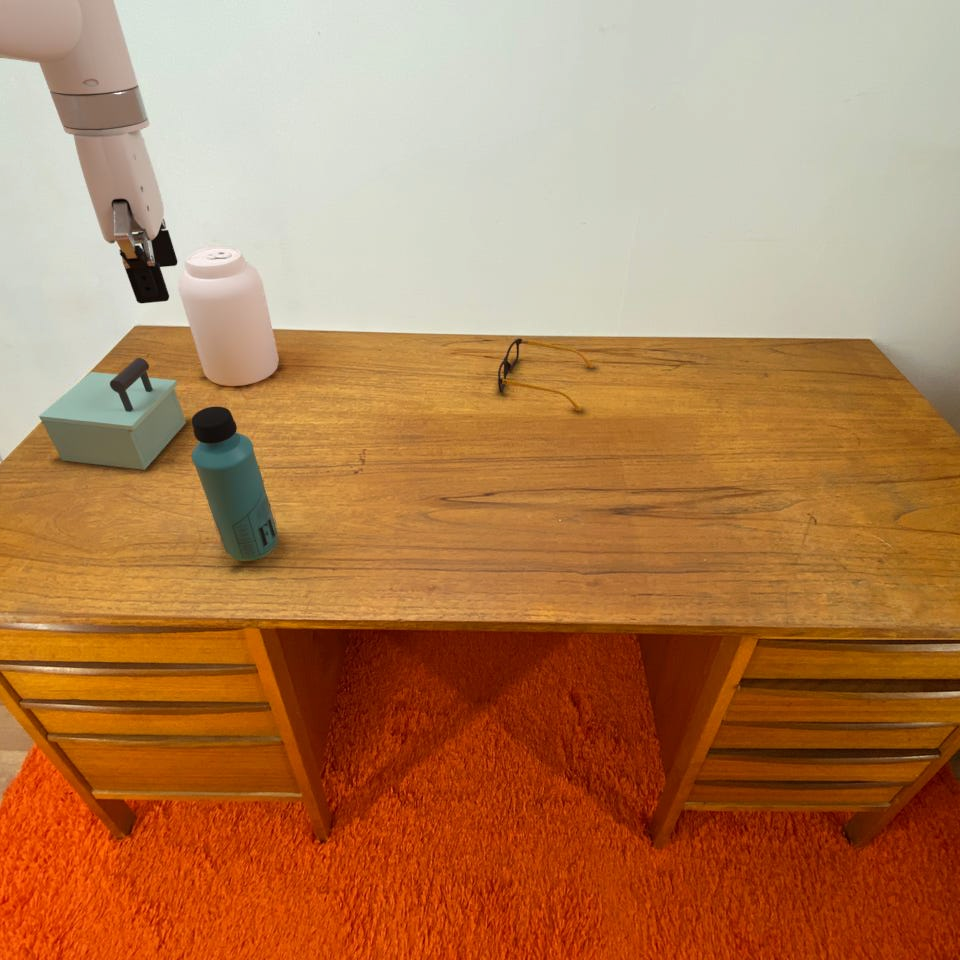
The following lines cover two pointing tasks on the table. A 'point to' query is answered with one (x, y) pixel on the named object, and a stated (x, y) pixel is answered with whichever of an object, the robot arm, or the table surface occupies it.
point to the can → (228, 316)
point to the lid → (111, 399)
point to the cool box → (119, 438)
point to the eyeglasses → (503, 381)
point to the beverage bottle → (233, 485)
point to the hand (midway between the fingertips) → (159, 282)
